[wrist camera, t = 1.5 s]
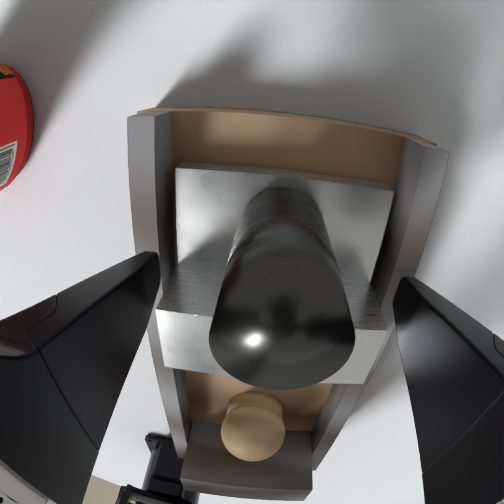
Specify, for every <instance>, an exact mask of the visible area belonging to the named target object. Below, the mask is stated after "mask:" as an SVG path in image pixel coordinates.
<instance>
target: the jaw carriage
mask: <svg viewBox="0 0 504 504" xmlns="http://www.w3.org/2000/svg"><path fill="white" fill-rule="evenodd" d="M175 184H176V227H177V252H178V265H177V267H176V269H175V271H174V273H173V275H172V277H171V279H170V281H169V283H168V285H167V287H166V289H165V291H164V293H163V295H162V297H161V299H160V301H159V303H158V305H157V307H156V316H157V323H158V330H159V336H160V342H161V348H162V354H163V360H164V366H165V367H171V368H177V369H183V370H190V371H196V372H203V373H210V374H218V375H226V376H233V377H234V378H236V379H238V380H240V381H241V382H244V383H246V384H249V385H252V386H255V387H259V388H264V389H271V390H291V389H299V388H303V387H308V386H311V385H314V384H317V383H336V384H363V383H364V381H365V379H366V377H367V375H368V373H369V371H370V369H371V367H372V365H373V363H374V361H375V359H376V356H377V354H378V352H379V350H380V348H381V346H382V343H383V341H384V339H385V337H386V334H387V332H388V329H387V326H386V323H385V321H384V318H383V315H382V312H381V310H380V307H379V304H378V302H377V299H376V296H375V294H374V291H373V289H372V286H371V284H370V281H371V277H372V274H373V271H374V267H375V264H376V261H377V257H378V254H379V250H380V246H381V243H382V239H383V235H384V232H385V228H386V224H387V220H388V216H389V212H390V208H391V203H392V199H393V195H394V191H393V190H392V189H391V188H390V187H389V186H388V185H387V184H386V183H380V182H374V181H368V180H361V179H355V178H348V177H341V176H334V175H327V174H319V173H311V172H302V171H294V170H284V169H275V168H264V167H253V166H241V165H228V164H214V163H196V162H182V163H181V164H180V165H179V166H177V167H176V168H175Z"/></svg>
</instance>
